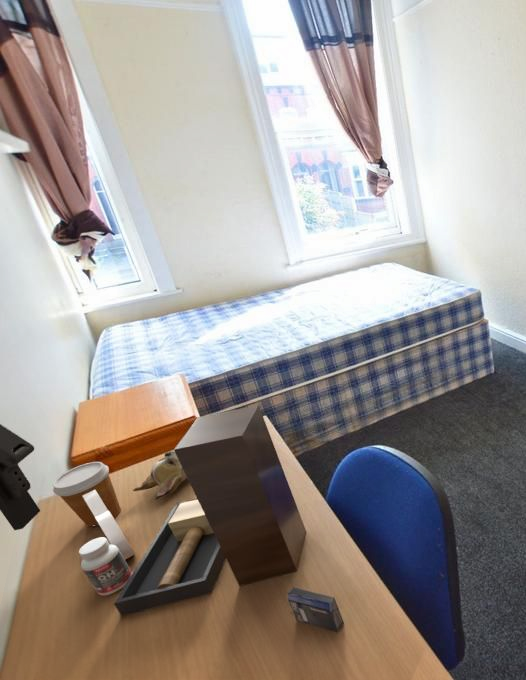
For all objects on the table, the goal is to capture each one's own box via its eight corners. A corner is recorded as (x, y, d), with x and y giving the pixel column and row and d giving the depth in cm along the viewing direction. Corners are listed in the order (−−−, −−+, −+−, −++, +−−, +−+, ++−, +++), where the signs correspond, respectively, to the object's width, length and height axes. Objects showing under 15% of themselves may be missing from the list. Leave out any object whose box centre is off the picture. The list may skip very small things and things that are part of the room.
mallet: (192, 589, 84) (182, 569, 82) (144, 601, 83) (132, 581, 81) (228, 511, 102) (220, 494, 100) (189, 521, 101) (180, 503, 99)
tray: (211, 592, 84) (205, 580, 82) (121, 616, 81) (113, 603, 80) (251, 497, 107) (246, 486, 106) (182, 513, 104) (176, 502, 103)
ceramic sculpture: (207, 438, 115) (143, 480, 104) (221, 465, 119) (162, 509, 107) (182, 432, 120) (118, 471, 108) (196, 458, 124) (137, 498, 112)
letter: (140, 562, 92) (117, 523, 88) (126, 570, 91) (103, 531, 87) (111, 518, 106) (90, 482, 102) (99, 524, 104) (78, 488, 100)
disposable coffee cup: (67, 527, 104) (40, 485, 99) (114, 498, 112) (90, 457, 107) (92, 536, 100) (65, 493, 96) (138, 505, 108) (115, 463, 103)
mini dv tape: (296, 621, 76) (285, 595, 74) (303, 612, 78) (292, 587, 75) (338, 632, 74) (328, 606, 72) (344, 623, 75) (334, 597, 73)
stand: (297, 571, 86) (242, 435, 74) (239, 586, 84) (173, 449, 72) (306, 531, 95) (258, 404, 83) (254, 544, 93) (198, 417, 82)
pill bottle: (111, 599, 85) (85, 560, 81) (91, 593, 86) (65, 554, 83) (140, 574, 89) (117, 536, 86) (121, 569, 91) (98, 531, 87)
